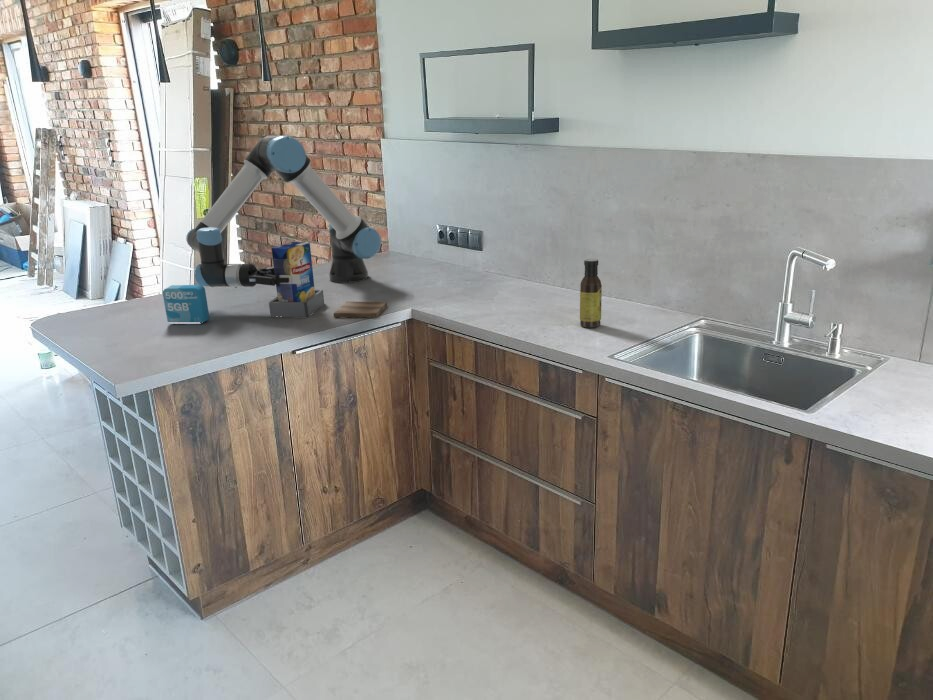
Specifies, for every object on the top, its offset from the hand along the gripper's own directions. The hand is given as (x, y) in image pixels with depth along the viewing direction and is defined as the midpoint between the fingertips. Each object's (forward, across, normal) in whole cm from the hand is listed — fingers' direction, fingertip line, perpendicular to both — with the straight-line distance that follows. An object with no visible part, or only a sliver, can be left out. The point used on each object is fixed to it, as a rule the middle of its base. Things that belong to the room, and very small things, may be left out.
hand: (305, 275), depth 233 cm
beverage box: (-4, 0, -12) cm, 13 cm away
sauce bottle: (+92, +14, -12) cm, 94 cm away
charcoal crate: (-4, 0, -12) cm, 13 cm away
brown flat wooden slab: (+18, +1, -12) cm, 22 cm away
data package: (-35, +15, -12) cm, 40 cm away
